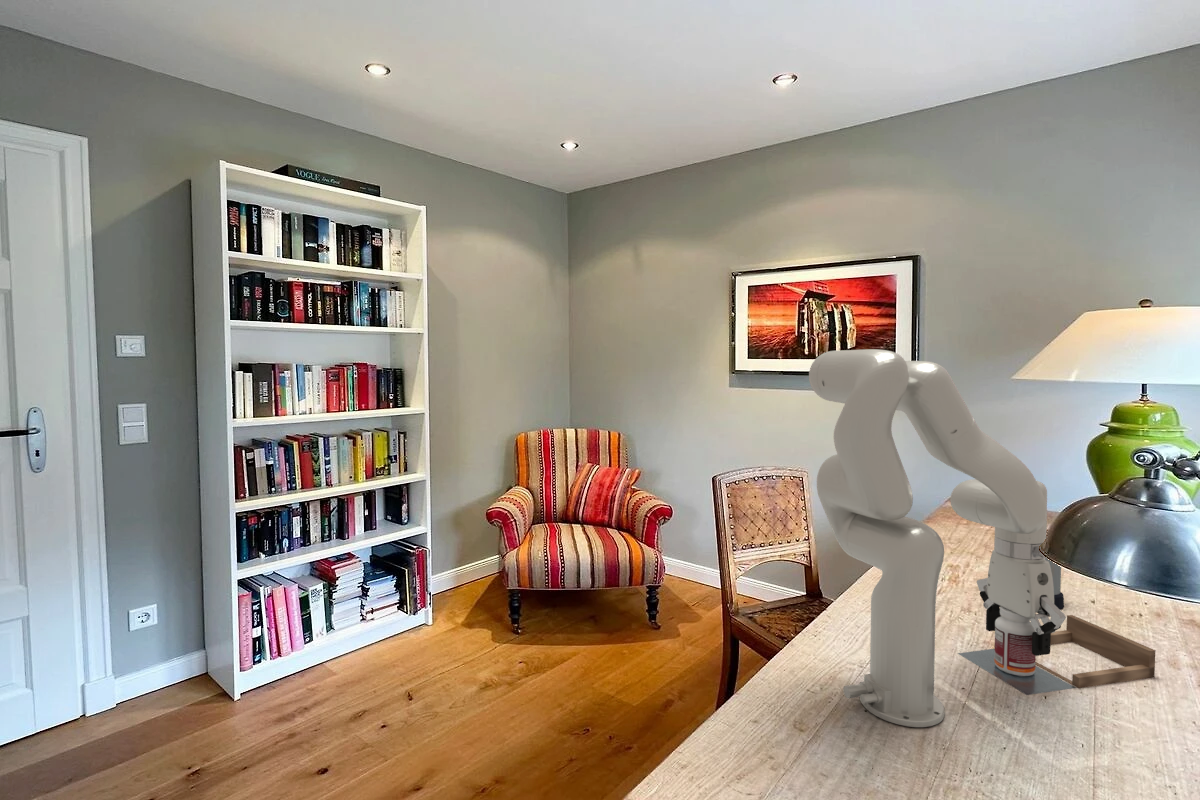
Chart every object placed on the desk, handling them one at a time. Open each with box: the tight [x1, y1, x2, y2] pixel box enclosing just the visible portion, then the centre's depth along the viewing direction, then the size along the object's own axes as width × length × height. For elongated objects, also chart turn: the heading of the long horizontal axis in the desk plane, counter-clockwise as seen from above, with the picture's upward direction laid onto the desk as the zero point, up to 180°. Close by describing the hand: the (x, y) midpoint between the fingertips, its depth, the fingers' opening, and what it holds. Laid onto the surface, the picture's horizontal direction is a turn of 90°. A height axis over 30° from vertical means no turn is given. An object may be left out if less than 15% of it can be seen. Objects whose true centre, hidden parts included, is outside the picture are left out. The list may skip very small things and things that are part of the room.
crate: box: [1035, 614, 1157, 689], centre depth 114 cm, size 16×15×6 cm
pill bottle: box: [994, 606, 1037, 676], centre depth 111 cm, size 6×6×11 cm
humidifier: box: [1045, 516, 1065, 610], centre depth 142 cm, size 8×8×25 cm
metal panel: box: [957, 648, 1077, 696], centre depth 111 cm, size 1×15×10 cm
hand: (1016, 641), depth 111 cm, fingers open, 9 cm apart
